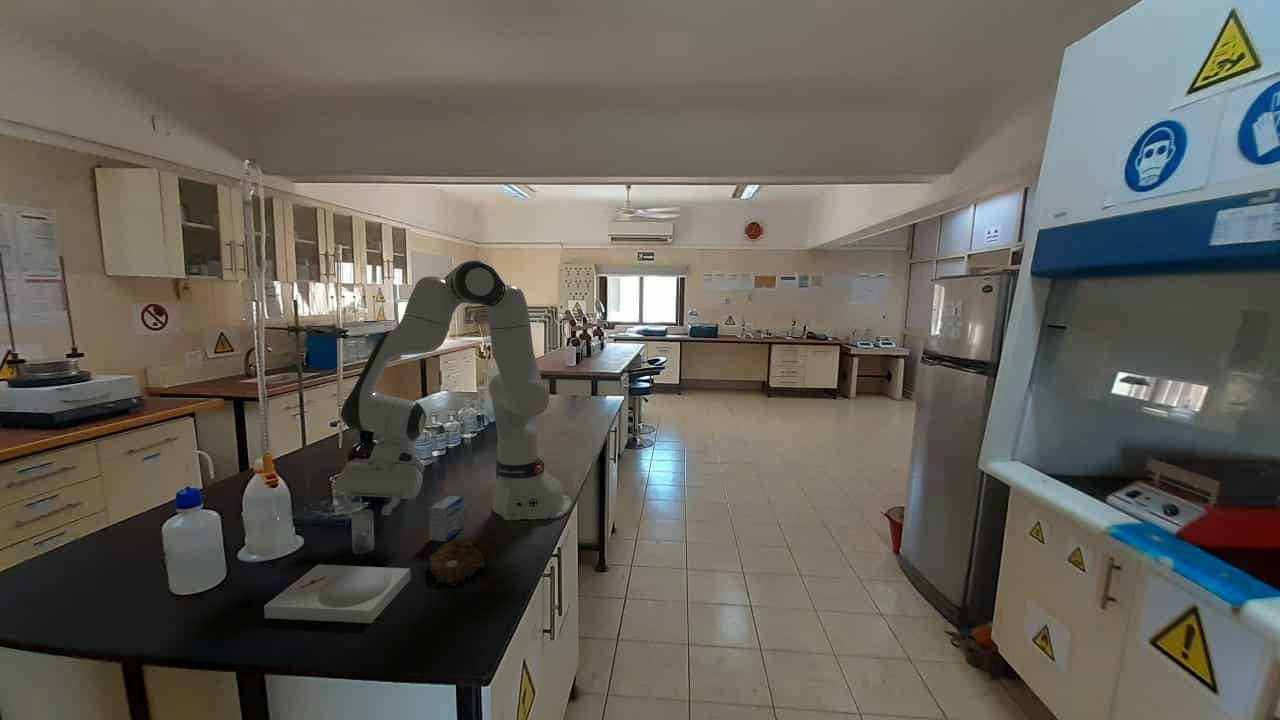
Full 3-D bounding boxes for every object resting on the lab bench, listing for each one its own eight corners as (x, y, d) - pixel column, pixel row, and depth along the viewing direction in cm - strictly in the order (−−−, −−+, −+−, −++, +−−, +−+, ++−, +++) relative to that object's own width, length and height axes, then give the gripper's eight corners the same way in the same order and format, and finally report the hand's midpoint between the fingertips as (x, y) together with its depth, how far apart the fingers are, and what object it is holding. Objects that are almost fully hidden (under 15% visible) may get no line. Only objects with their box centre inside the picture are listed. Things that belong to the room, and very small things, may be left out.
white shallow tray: (410, 579, 100) (410, 565, 100) (371, 623, 87) (370, 607, 86) (318, 575, 101) (317, 561, 101) (264, 617, 87) (263, 602, 87)
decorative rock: (423, 559, 109) (435, 595, 97) (422, 543, 109) (434, 577, 96) (474, 544, 116) (491, 577, 103) (473, 529, 115) (490, 560, 102)
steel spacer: (378, 545, 114) (376, 509, 113) (367, 554, 110) (365, 517, 109) (360, 544, 114) (358, 508, 113) (348, 553, 110) (347, 517, 109)
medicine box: (445, 542, 116) (444, 509, 115) (429, 540, 117) (428, 507, 116) (463, 528, 124) (463, 496, 123) (448, 526, 125) (447, 494, 124)
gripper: (343, 452, 120) (316, 505, 111) (422, 456, 119) (402, 510, 110) (354, 463, 125) (330, 515, 116) (431, 468, 124) (412, 520, 115)
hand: (366, 512), depth 113 cm, fingers open, 8 cm apart
